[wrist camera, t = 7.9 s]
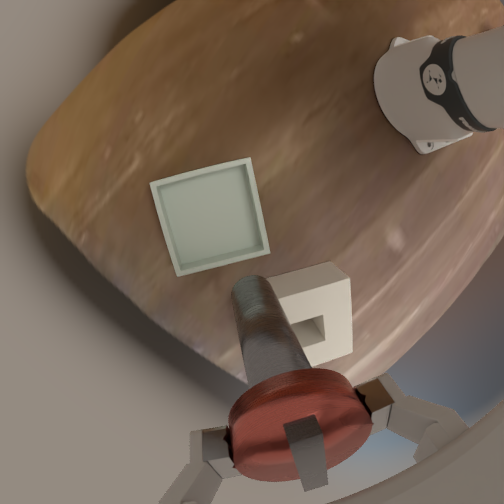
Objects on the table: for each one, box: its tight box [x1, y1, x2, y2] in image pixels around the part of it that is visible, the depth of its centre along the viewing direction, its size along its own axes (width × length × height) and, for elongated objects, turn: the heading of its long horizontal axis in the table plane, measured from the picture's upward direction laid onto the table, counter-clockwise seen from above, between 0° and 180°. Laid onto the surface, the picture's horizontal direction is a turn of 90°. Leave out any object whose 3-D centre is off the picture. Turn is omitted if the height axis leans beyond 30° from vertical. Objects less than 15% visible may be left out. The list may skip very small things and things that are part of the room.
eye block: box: [266, 261, 352, 367], centre depth 37 cm, size 12×12×6 cm
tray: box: [150, 157, 270, 277], centre depth 32 cm, size 11×11×3 cm
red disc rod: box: [228, 275, 372, 491], centre depth 14 cm, size 5×5×14 cm
